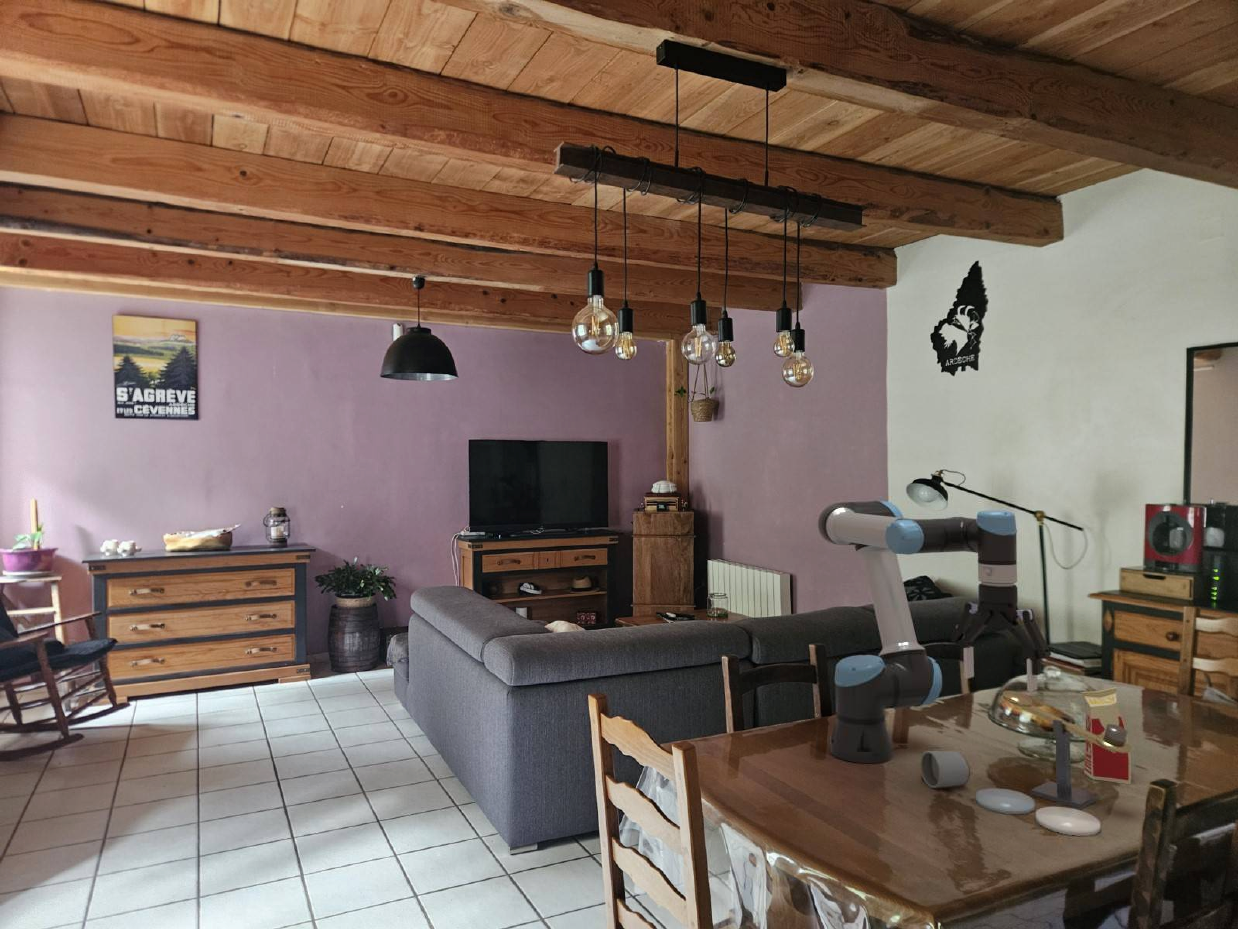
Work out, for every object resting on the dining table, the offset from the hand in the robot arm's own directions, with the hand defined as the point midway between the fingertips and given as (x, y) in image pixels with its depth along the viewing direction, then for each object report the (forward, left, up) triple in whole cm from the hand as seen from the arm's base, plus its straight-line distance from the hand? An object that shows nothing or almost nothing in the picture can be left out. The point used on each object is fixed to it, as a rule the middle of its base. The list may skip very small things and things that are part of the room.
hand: (999, 683), depth 170 cm
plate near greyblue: (+2, -2, -24) cm, 24 cm away
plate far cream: (+14, -2, -24) cm, 28 cm away
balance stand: (+8, +11, -24) cm, 28 cm away
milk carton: (+8, +31, -25) cm, 40 cm away
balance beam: (+8, +11, -9) cm, 16 cm away
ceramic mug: (-13, -2, -25) cm, 28 cm away
